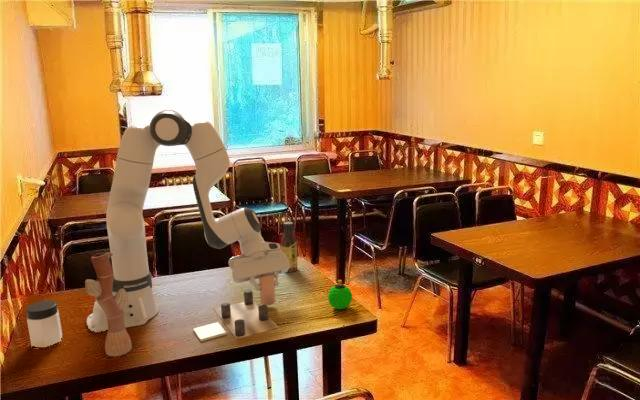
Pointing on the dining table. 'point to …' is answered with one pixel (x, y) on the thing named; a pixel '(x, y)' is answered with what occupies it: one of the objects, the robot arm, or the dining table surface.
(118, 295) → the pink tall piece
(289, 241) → the sauce bottle
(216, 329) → the mat
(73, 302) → the dining table surface
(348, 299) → the ornament
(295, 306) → the dining table surface
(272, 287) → the tan cylinder block
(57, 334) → the jar
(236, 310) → the post board
